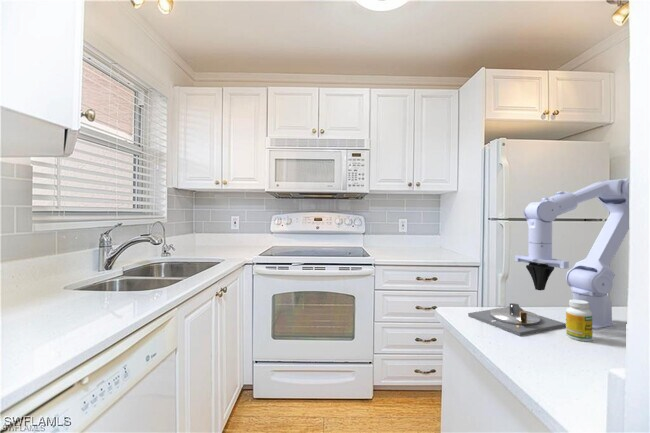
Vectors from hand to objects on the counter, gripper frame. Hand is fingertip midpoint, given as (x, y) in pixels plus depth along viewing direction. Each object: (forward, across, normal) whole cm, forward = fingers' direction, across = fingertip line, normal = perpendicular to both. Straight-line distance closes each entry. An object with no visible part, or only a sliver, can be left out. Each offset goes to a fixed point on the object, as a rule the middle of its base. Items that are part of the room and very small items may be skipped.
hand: (539, 289), depth 92 cm
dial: (+9, -5, -4) cm, 11 cm away
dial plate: (+10, -5, -4) cm, 12 cm away
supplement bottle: (+11, +10, 0) cm, 15 cm away
